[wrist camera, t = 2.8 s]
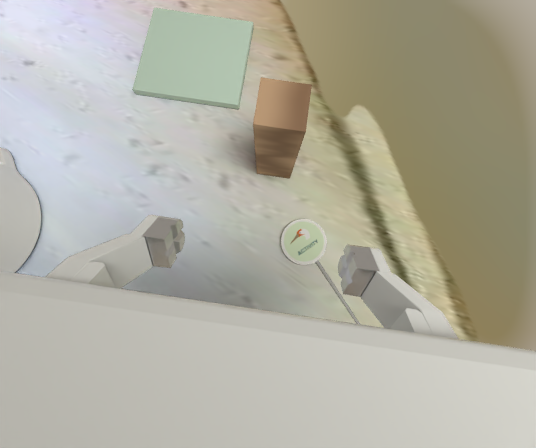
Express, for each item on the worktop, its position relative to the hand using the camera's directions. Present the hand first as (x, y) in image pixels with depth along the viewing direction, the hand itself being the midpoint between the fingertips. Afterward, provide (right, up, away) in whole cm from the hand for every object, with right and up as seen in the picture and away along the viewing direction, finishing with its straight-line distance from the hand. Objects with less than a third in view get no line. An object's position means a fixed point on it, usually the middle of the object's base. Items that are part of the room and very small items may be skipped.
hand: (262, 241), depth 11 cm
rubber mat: (-9, +22, +18) cm, 30 cm away
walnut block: (+1, +9, +16) cm, 18 cm away
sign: (+7, -5, +14) cm, 17 cm away
